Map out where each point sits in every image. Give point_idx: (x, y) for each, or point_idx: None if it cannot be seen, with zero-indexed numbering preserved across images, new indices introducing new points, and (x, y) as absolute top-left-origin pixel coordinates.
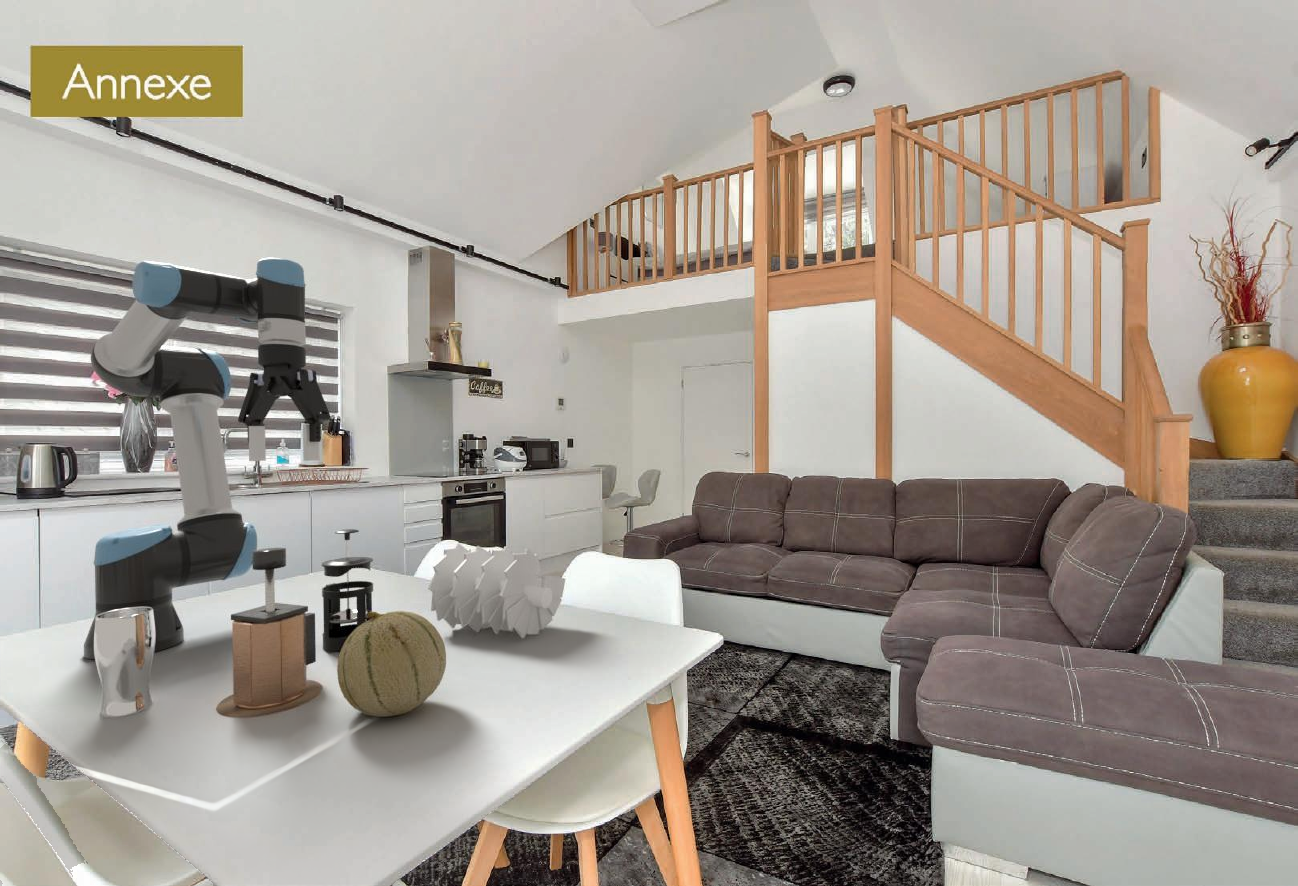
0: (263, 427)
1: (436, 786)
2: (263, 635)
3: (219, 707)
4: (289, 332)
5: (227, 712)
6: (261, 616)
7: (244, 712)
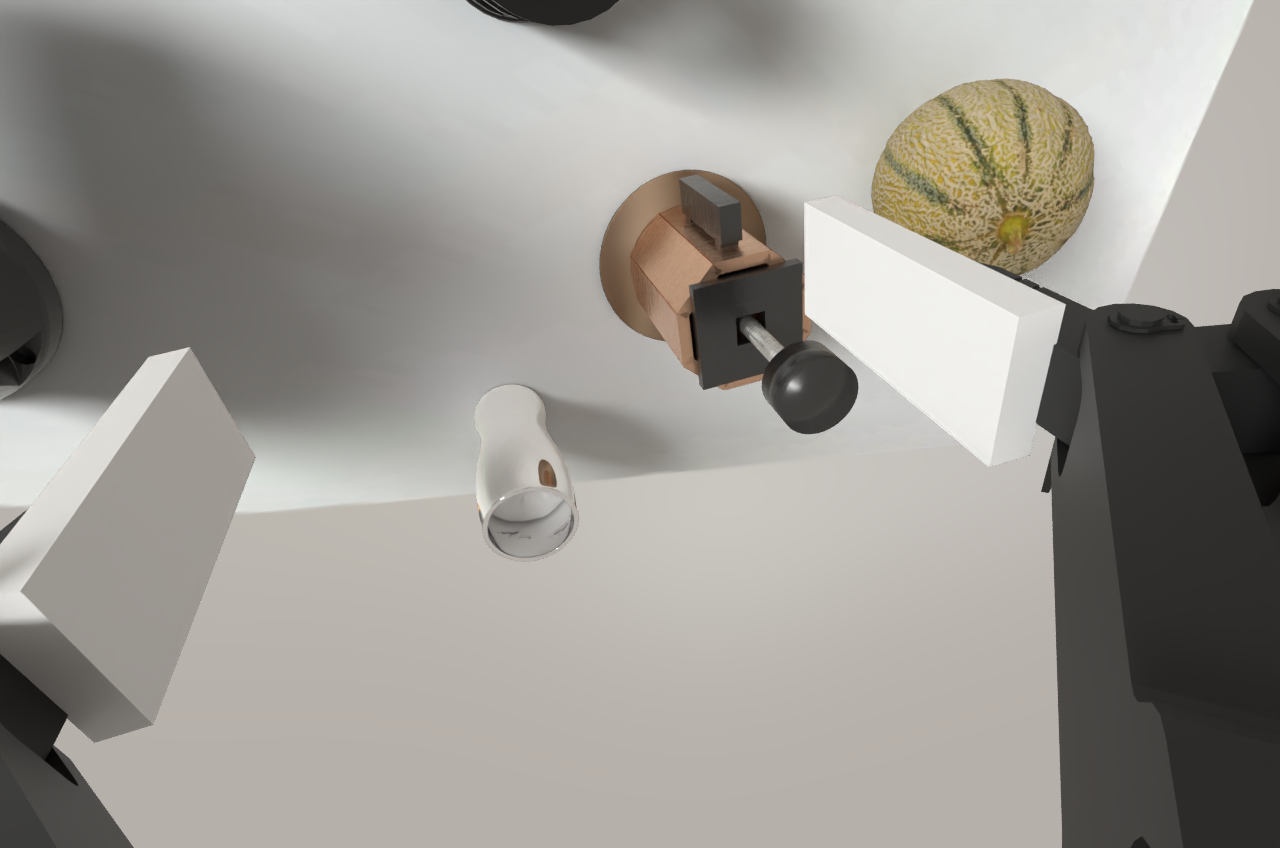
0: (47, 596)
1: (1078, 272)
2: None
3: (648, 332)
4: None
5: None
6: None
7: None
